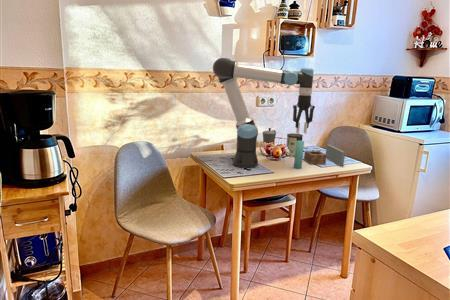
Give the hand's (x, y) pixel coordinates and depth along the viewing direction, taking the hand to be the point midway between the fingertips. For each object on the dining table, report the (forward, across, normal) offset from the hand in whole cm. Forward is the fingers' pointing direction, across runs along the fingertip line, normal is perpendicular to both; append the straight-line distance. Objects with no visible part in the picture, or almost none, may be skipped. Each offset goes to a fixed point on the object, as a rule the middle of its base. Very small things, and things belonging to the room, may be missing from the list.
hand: (301, 133), depth 204 cm
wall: (+19, +24, 0) cm, 30 cm away
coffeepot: (+19, -13, +21) cm, 31 cm away
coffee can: (+19, +3, +17) cm, 26 cm away
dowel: (+19, -5, -11) cm, 22 cm away
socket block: (+19, +11, 0) cm, 22 cm away
